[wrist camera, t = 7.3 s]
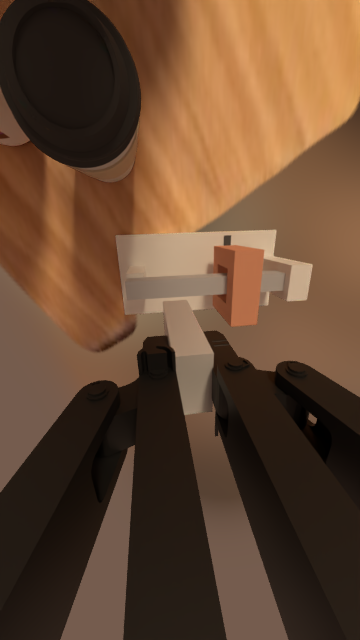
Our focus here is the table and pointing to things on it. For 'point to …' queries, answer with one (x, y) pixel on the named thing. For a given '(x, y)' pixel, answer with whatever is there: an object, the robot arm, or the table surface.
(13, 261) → the table surface
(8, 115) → the milk bottle
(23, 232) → the table surface
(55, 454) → the robot arm
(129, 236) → the rail
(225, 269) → the notched orange block
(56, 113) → the coffee cup
